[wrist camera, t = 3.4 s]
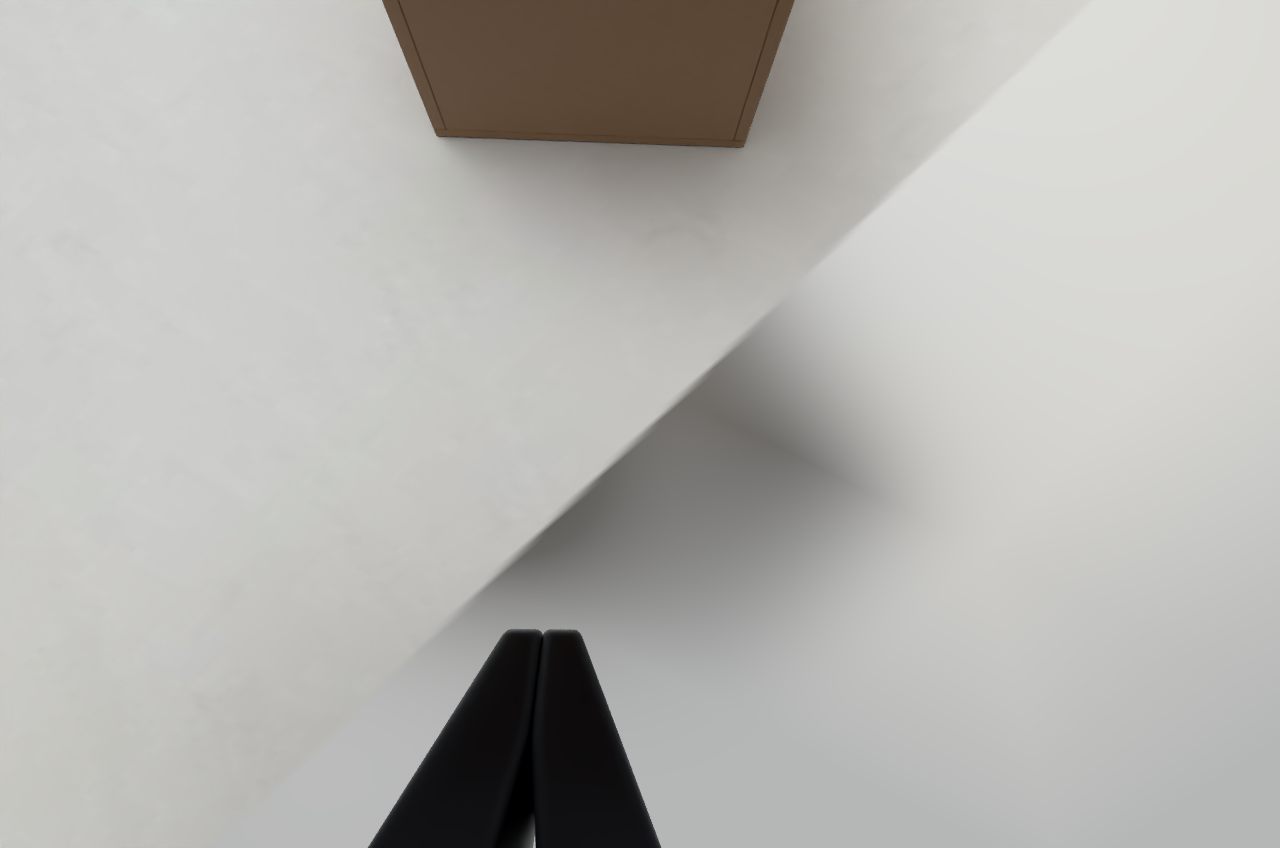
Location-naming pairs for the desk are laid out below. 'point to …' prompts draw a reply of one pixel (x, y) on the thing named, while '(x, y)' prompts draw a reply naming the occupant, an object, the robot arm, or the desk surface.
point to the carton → (591, 67)
